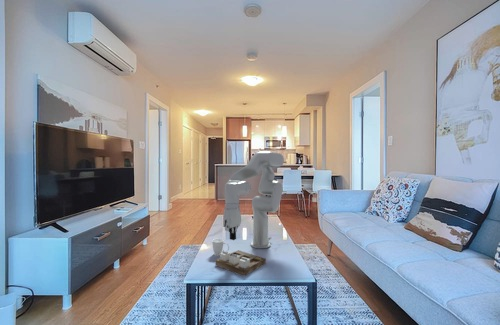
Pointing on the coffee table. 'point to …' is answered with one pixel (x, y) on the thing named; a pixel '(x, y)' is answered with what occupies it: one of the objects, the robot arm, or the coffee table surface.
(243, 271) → the switch board
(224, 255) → the tab
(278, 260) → the coffee table surface
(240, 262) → the tab
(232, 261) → the tab middle
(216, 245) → the cup
